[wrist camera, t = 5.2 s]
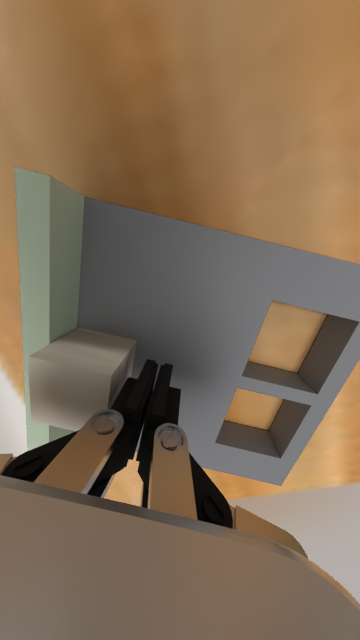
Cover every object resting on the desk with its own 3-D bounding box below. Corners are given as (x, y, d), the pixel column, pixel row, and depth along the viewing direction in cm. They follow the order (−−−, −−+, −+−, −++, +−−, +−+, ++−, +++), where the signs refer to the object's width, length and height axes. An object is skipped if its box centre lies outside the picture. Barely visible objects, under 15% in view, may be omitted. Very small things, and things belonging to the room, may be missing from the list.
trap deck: (75, 202, 12) (0, 163, 7) (368, 274, 12) (479, 281, 8) (66, 408, 18) (20, 461, 13) (269, 456, 18) (297, 526, 13)
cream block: (79, 327, 12) (27, 356, 8) (136, 340, 12) (111, 375, 8) (76, 376, 13) (30, 421, 10) (129, 388, 13) (103, 437, 10)
